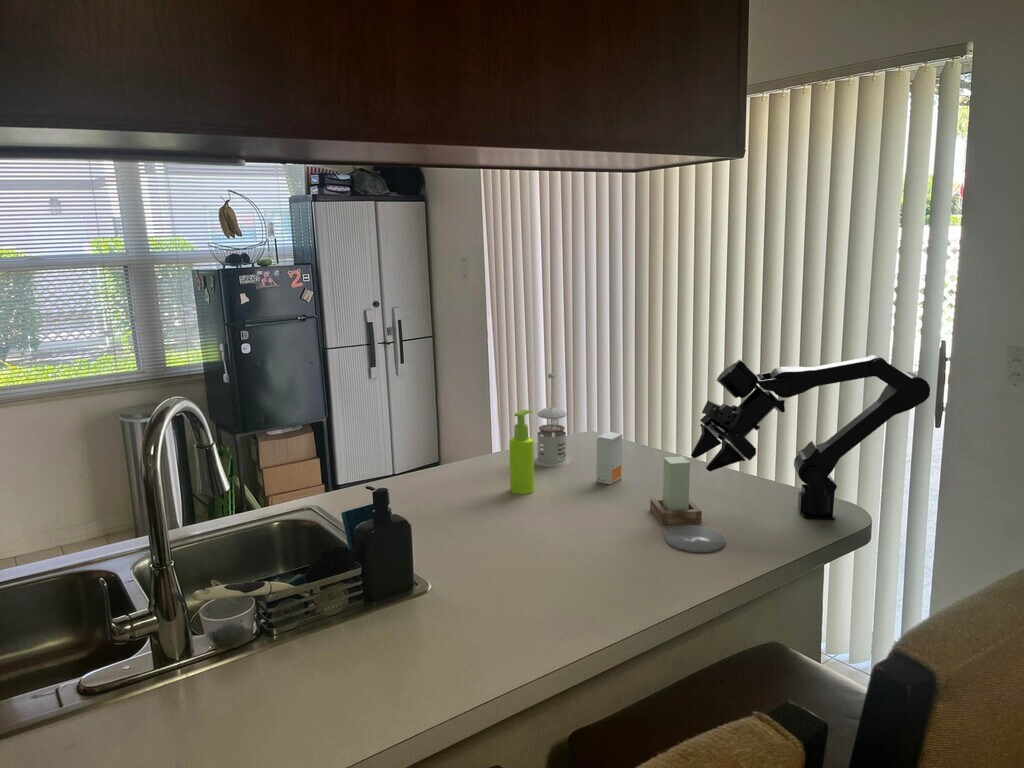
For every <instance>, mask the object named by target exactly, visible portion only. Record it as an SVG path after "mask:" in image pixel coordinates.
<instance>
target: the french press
mask: <svg viewBox="0 0 1024 768" xmlns="http://www.w3.org/2000/svg"><path fill="white" fill-rule="evenodd" d="M547 378H548V379H550V407H545V408H543V409H541V410H539V411H538V412H537V413H536V415H537V416H538V417H539V418H541V419H546V420H548V419H550V423H549V424H543V425H540V426H539V427H538V430H539V431H538V432H537V458H536V459H535V460H534V464H535V465H538V466H540V467H547V468H558V467H564V466H566V465H569V463H571V461H570V460H569V458H568V457H567V433H566V431H565V430H566V427H565V426H564V425H561V424H558V422H559V420H558V419H562V418H564V417H566V416H567V412H566V411H564V410H563V409H560V408H558V407H553V389H552V388H553V378H556V377H555V374H554V373H552V372H551V373H548V375H547ZM553 421H556V424H553ZM553 433H554V436H553ZM541 449H542V450H541Z"/></svg>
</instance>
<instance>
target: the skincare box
mask: <svg viewBox="0 0 1024 768" xmlns="http://www.w3.org/2000/svg"><path fill="white" fill-rule="evenodd" d="M622 463H623V433H617V432H613V431H608V432H605V433H602V434H601V435H598V436H597V437H596V470H595V471H596V482H597V483H600V482H601V484H606V485H612V484H614V483H615V482H617V481H619V480H621V479H622V466H623V464H622Z"/></svg>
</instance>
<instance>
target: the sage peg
mask: <svg viewBox="0 0 1024 768" xmlns="http://www.w3.org/2000/svg"><path fill="white" fill-rule="evenodd" d="M690 471H691V462H690V461H689V460H688V459H687V458H686V457H685V456H684V455H683V456H670V457H669V456H668V457H667V456H666V457H663V475H662V476H663V478H662V479H663V480H662V481H663V482H662V498H663V508H664V509H665V510H666V511H676V510H688V508H689V499H690V475H691V474H690Z"/></svg>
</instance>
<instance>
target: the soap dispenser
mask: <svg viewBox="0 0 1024 768" xmlns="http://www.w3.org/2000/svg"><path fill="white" fill-rule="evenodd" d="M532 413H533V410H529V409H521V410H519V411H517V412H515V413H514V416H515V417H516V418H517V423H516V424H514V426H513V428H514V429H513V434H514V437H511V438H509V442H508V443H509V446H508V447H509V483H510V485H509V486H510V487H509V488H510V491H509V492H511V493H512V494H515V495H521V496H522V495H529V494H532V493H533V492H534V491H535V466H534V465H535V460H534V458H535V457H534V455H535V454H534V453H535V452H534V451H535V449H534V438H533V437H530V436H529V425H528V424H526V423H525V422H526V421H525V416H526V415H527V414H532Z"/></svg>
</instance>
